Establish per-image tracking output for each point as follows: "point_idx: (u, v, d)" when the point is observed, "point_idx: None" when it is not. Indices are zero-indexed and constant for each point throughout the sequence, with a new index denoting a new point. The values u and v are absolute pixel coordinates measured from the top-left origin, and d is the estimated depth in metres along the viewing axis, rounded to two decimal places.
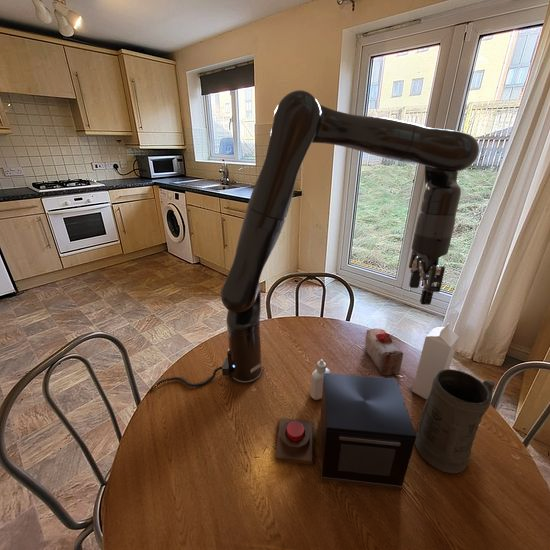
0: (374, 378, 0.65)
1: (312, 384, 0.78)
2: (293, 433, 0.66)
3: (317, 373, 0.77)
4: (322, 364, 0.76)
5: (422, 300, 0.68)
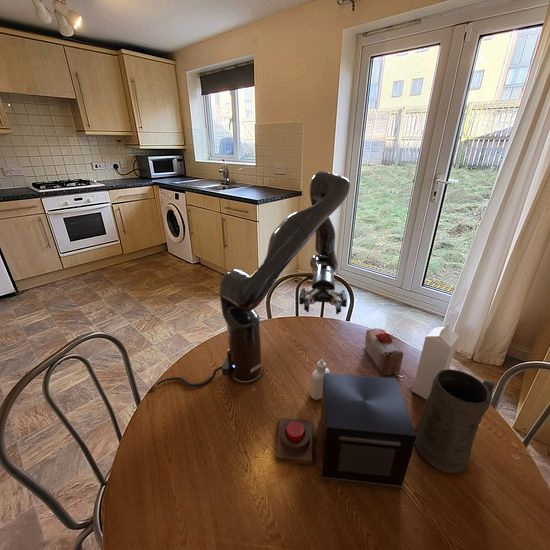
0: (374, 378, 0.65)
1: (312, 384, 0.78)
2: (293, 433, 0.66)
3: (317, 373, 0.77)
4: (322, 364, 0.76)
5: (338, 307, 0.84)
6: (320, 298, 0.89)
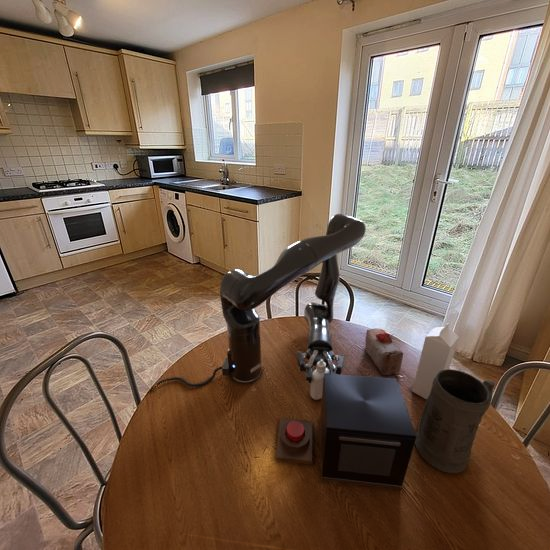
0: (374, 378, 0.65)
1: (312, 384, 0.78)
2: (293, 433, 0.66)
3: (317, 373, 0.77)
4: (322, 364, 0.76)
5: None
6: None
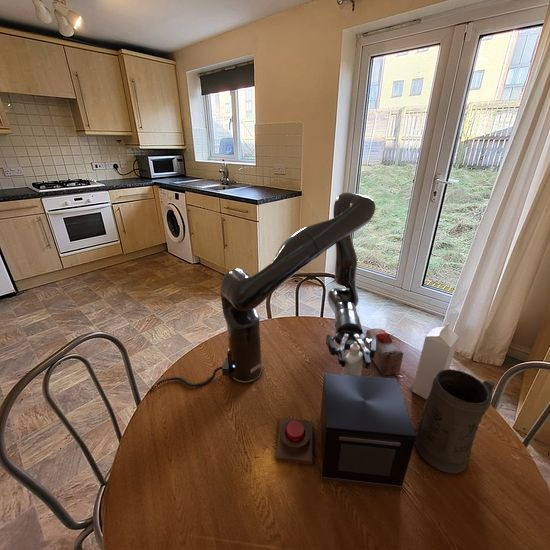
0: (374, 378, 0.65)
1: (345, 368, 0.75)
2: (293, 433, 0.66)
3: (350, 356, 0.74)
4: (356, 347, 0.73)
5: (368, 360, 0.73)
6: (349, 346, 0.79)
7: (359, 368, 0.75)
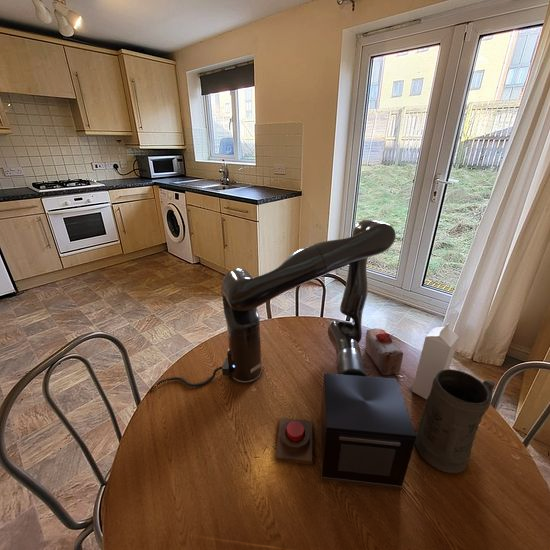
0: (374, 378, 0.65)
1: None
2: (293, 433, 0.66)
3: None
4: None
5: None
6: None
7: None
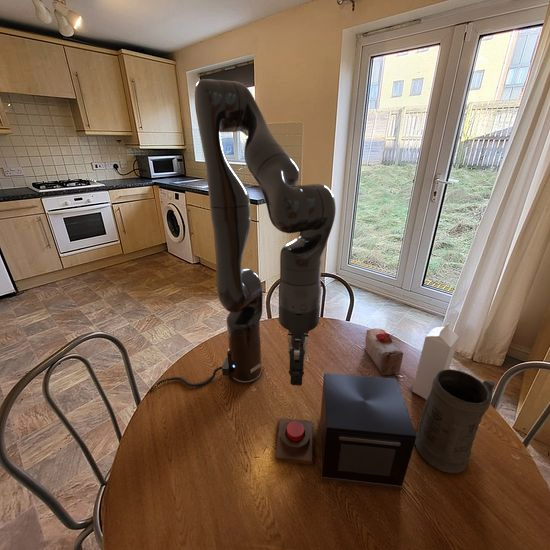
0: (374, 378, 0.65)
1: None
2: (293, 433, 0.66)
3: None
4: None
5: (291, 380, 0.56)
6: None
7: None
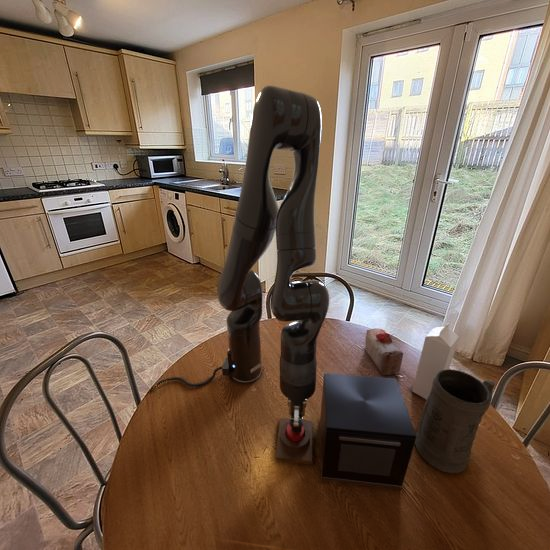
0: (374, 378, 0.65)
1: None
2: (293, 433, 0.66)
3: None
4: None
5: (292, 428, 0.66)
6: None
7: None
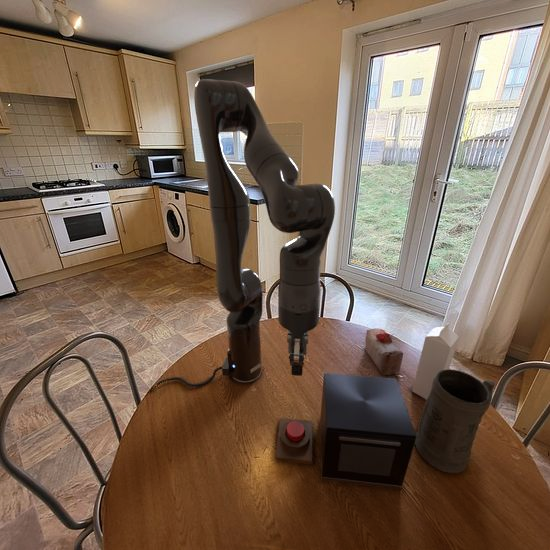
0: (374, 378, 0.65)
1: None
2: (293, 433, 0.66)
3: None
4: None
5: (292, 371, 0.59)
6: None
7: None
